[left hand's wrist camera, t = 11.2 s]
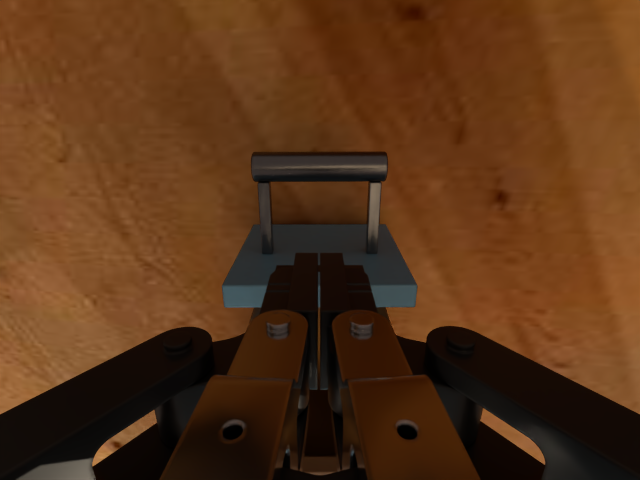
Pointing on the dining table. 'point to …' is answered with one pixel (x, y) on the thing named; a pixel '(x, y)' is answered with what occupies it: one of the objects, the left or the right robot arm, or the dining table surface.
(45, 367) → the dining table surface
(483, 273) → the dining table surface
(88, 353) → the dining table surface
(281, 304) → the left robot arm
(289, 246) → the drawer
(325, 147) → the dining table surface
